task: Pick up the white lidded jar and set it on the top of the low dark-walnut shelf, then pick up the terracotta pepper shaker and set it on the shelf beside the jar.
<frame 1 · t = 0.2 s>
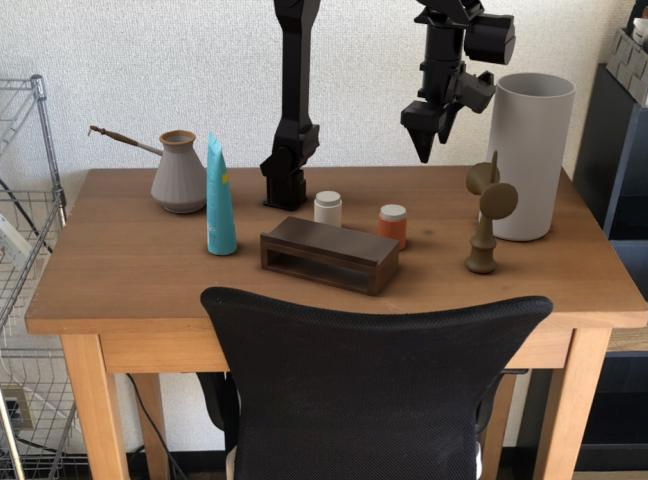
hand: (433, 153, 139), 15 cm above the table, tool pointing down, fingers open, 9 cm apart
cylinder vase: (513, 227, 150), on the table
tube: (223, 249, 143), on the table
shelf: (329, 268, 138), on the table
white lidded jar: (327, 230, 148), on the table
pepper shaker: (391, 244, 144), on the table
kendama: (479, 268, 138), on the table
coffee pot: (157, 205, 156), on the table
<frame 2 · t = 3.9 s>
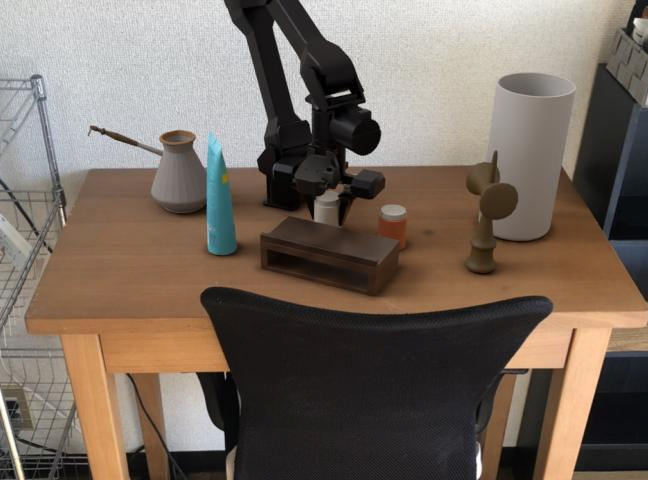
hand: (327, 222, 148), 2 cm above the table, tool pointing down, fingers closed on white lidded jar, 5 cm apart
white lidded jar: (327, 230, 148), on the table, touching gripper
everything else where it was.
when the fingers open (7 cm above the table, at t = 8.2 s): white lidded jar stays where it is, resting on shelf.
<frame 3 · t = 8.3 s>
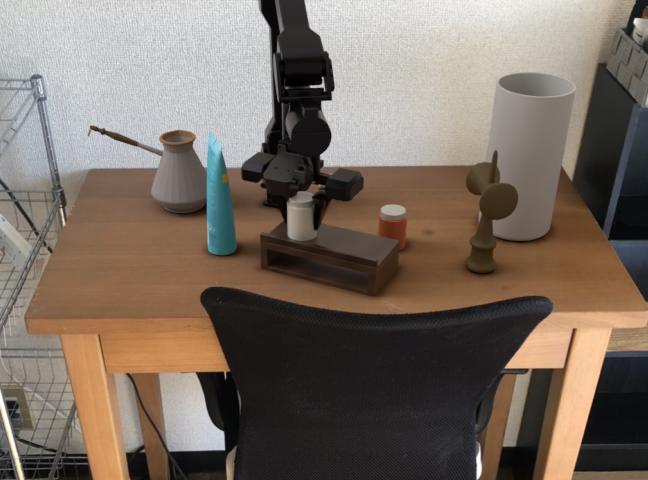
hand: (302, 226, 136), 6 cm above the table, tool pointing down, fingers open, 5 cm apart
white lidded jar: (302, 234, 136), point 5 cm above the table, touching shelf
everything else where it was.
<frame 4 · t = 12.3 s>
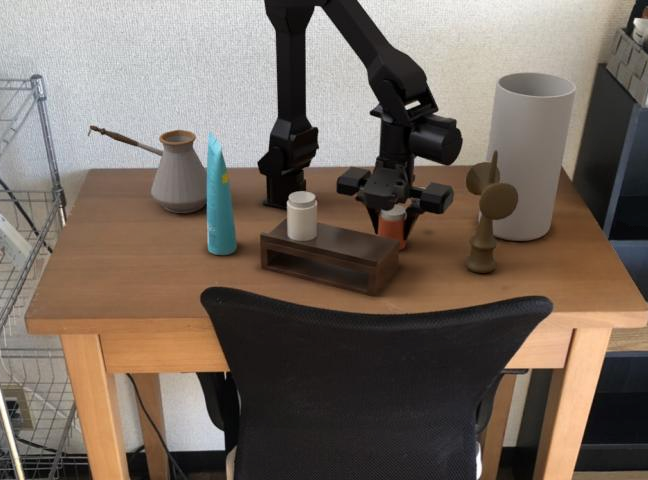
hand: (391, 236, 143), 2 cm above the table, tool pointing down, fingers closed on pepper shaker, 5 cm apart
pepper shaker: (391, 244, 144), on the table, touching gripper
everything else where it was.
when the fingers open (7 cm above the table, at t = 16.7 s): pepper shaker stays where it is, resting on shelf.
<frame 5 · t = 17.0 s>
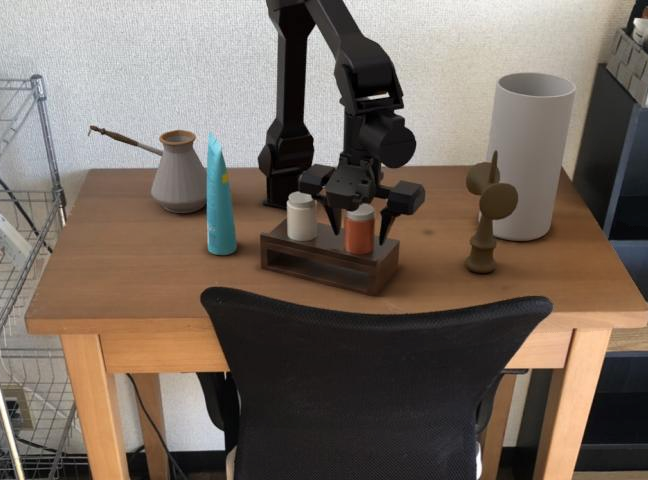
hand: (359, 239, 132), 6 cm above the table, tool pointing down, fingers open, 7 cm apart
pepper shaker: (358, 247, 133), point 5 cm above the table, touching shelf
everything else where it was.
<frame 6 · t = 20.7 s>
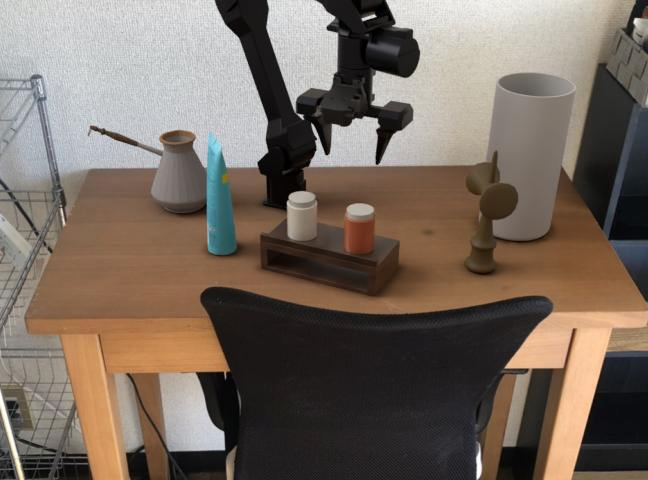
hand: (352, 159, 142), 13 cm above the table, tool pointing down, fingers open, 9 cm apart
nothing on the table moved.
at the end: white lidded jar inside the target area on the shelf (5.0 cm from its centre), point 5.0 cm above the shelf's base; pepper shaker inside the target area on the shelf (5.0 cm from its centre), point 5.0 cm above the shelf's base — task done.
